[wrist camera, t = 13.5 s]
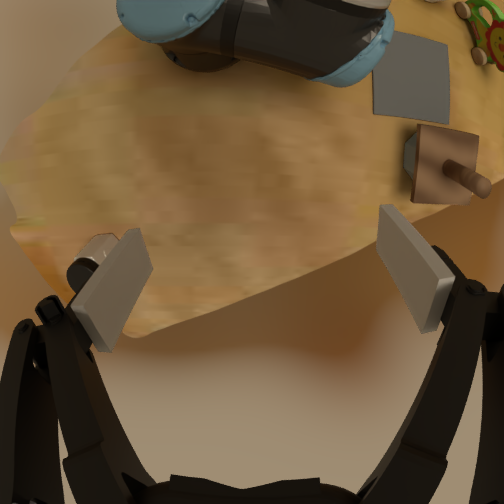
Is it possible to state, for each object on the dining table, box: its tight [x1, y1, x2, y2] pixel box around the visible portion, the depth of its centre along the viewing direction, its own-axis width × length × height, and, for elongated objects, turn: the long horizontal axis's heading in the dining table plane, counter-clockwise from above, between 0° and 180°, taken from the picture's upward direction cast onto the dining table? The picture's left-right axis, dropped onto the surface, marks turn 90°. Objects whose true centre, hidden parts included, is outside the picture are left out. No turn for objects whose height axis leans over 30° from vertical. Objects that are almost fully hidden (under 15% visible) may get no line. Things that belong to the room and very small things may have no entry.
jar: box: [67, 234, 119, 293], centre depth 51 cm, size 9×8×12 cm
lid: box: [410, 124, 492, 205], centre depth 34 cm, size 13×13×11 cm
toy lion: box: [455, 0, 504, 72], centre depth 23 cm, size 16×6×15 cm, turn 22°
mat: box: [372, 31, 450, 125], centre depth 36 cm, size 16×16×1 cm
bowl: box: [403, 132, 417, 180], centre depth 41 cm, size 11×11×6 cm
